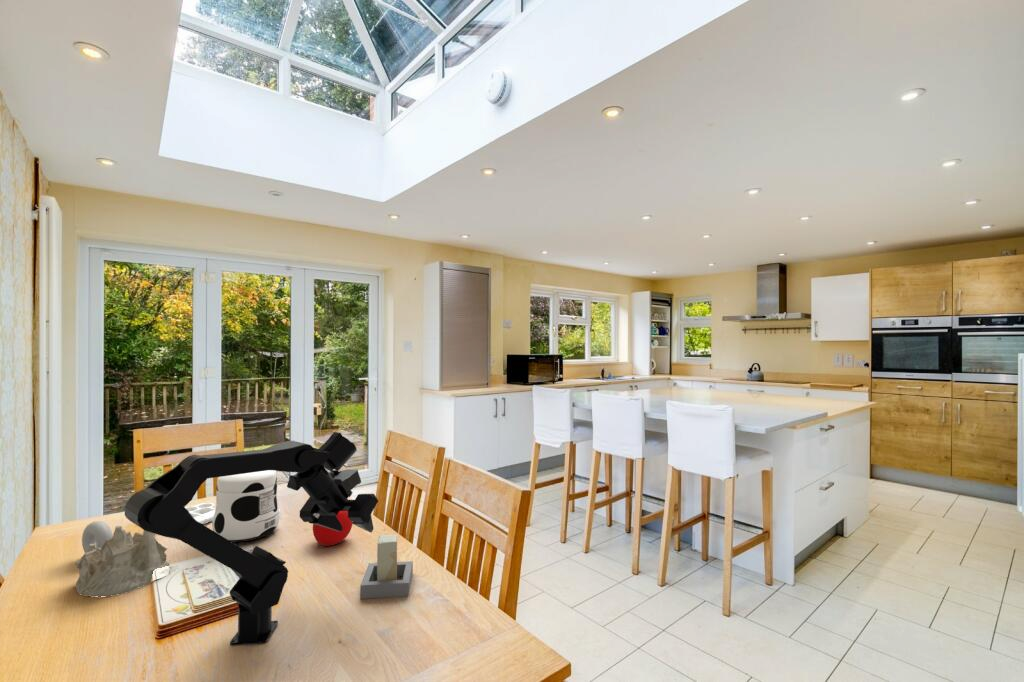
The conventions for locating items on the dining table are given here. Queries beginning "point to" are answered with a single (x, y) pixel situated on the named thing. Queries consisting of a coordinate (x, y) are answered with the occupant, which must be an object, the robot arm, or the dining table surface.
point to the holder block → (386, 582)
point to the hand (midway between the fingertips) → (356, 530)
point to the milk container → (246, 506)
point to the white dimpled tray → (202, 512)
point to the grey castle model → (120, 564)
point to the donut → (96, 534)
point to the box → (387, 558)
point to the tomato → (333, 531)
